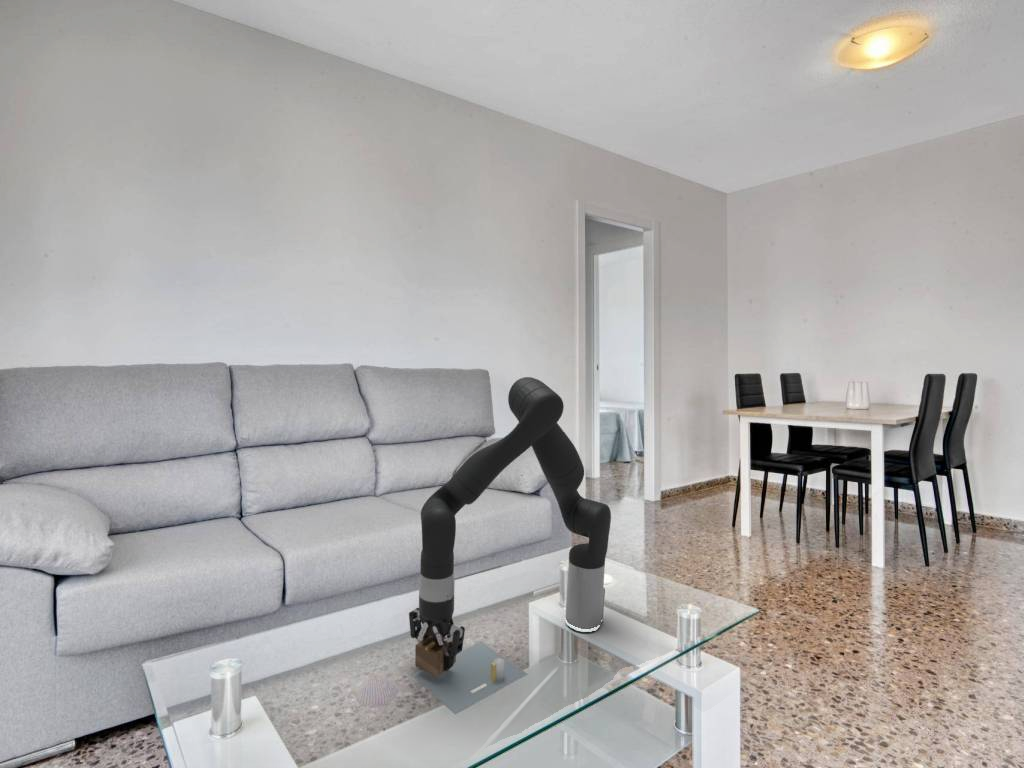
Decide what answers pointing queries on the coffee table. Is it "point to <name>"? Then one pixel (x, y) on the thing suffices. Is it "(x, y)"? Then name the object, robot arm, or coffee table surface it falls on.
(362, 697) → the seashell
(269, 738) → the coffee table surface
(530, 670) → the coffee table surface
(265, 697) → the coffee table surface
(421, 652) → the open wooden crate
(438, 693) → the shaft plate
